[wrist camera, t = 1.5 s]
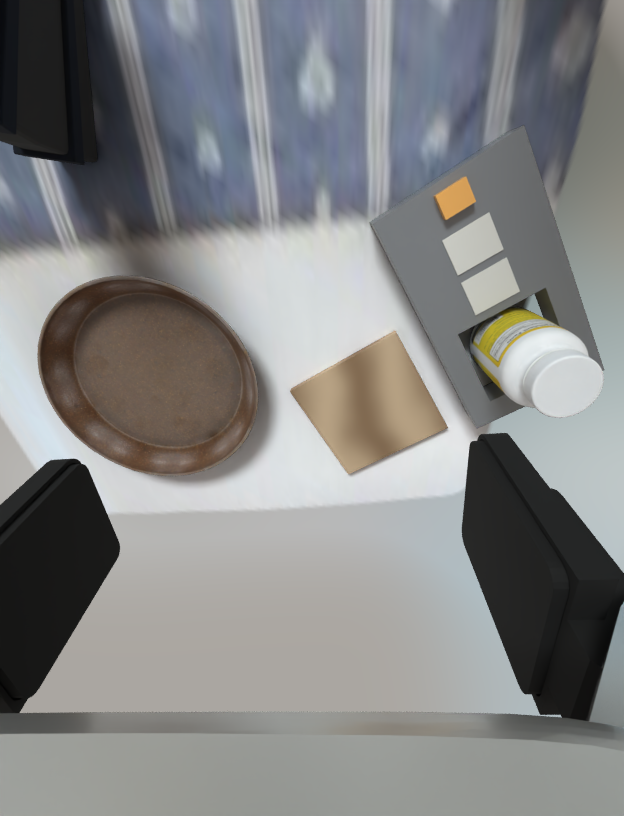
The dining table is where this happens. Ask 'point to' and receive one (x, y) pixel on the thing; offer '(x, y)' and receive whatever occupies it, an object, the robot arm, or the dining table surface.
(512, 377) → the supplement bottle
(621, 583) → the robot arm
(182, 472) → the plant saucer
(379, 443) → the cork mat
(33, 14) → the magazine
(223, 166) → the dining table surface
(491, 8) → the dining table surface
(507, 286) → the grey panel with buttons
